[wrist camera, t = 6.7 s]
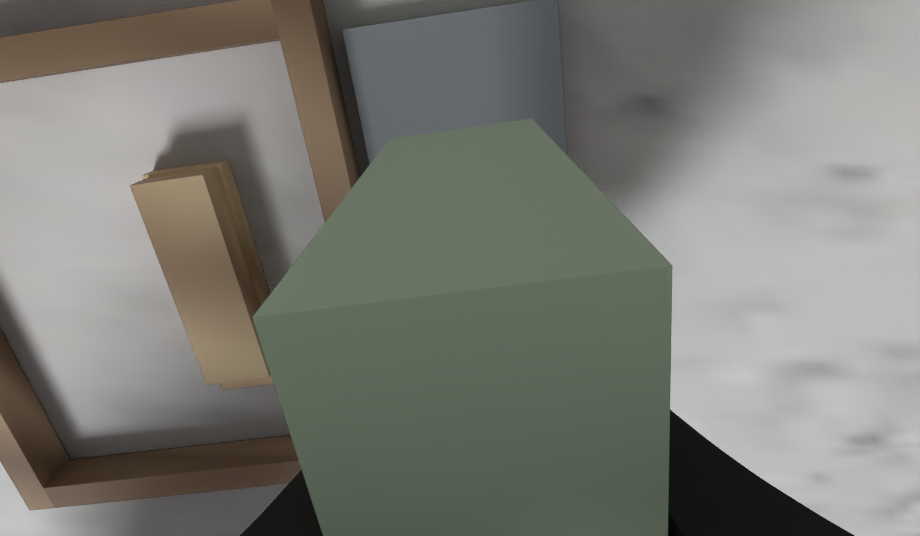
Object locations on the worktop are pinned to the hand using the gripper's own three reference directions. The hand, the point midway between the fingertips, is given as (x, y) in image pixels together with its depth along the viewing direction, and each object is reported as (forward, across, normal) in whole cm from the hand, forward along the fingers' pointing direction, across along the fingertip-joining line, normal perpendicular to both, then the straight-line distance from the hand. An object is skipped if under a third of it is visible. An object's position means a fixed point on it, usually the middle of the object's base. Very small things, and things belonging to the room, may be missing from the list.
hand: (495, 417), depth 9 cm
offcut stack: (+10, +9, 0) cm, 13 cm away
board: (+4, 0, 0) cm, 4 cm away
